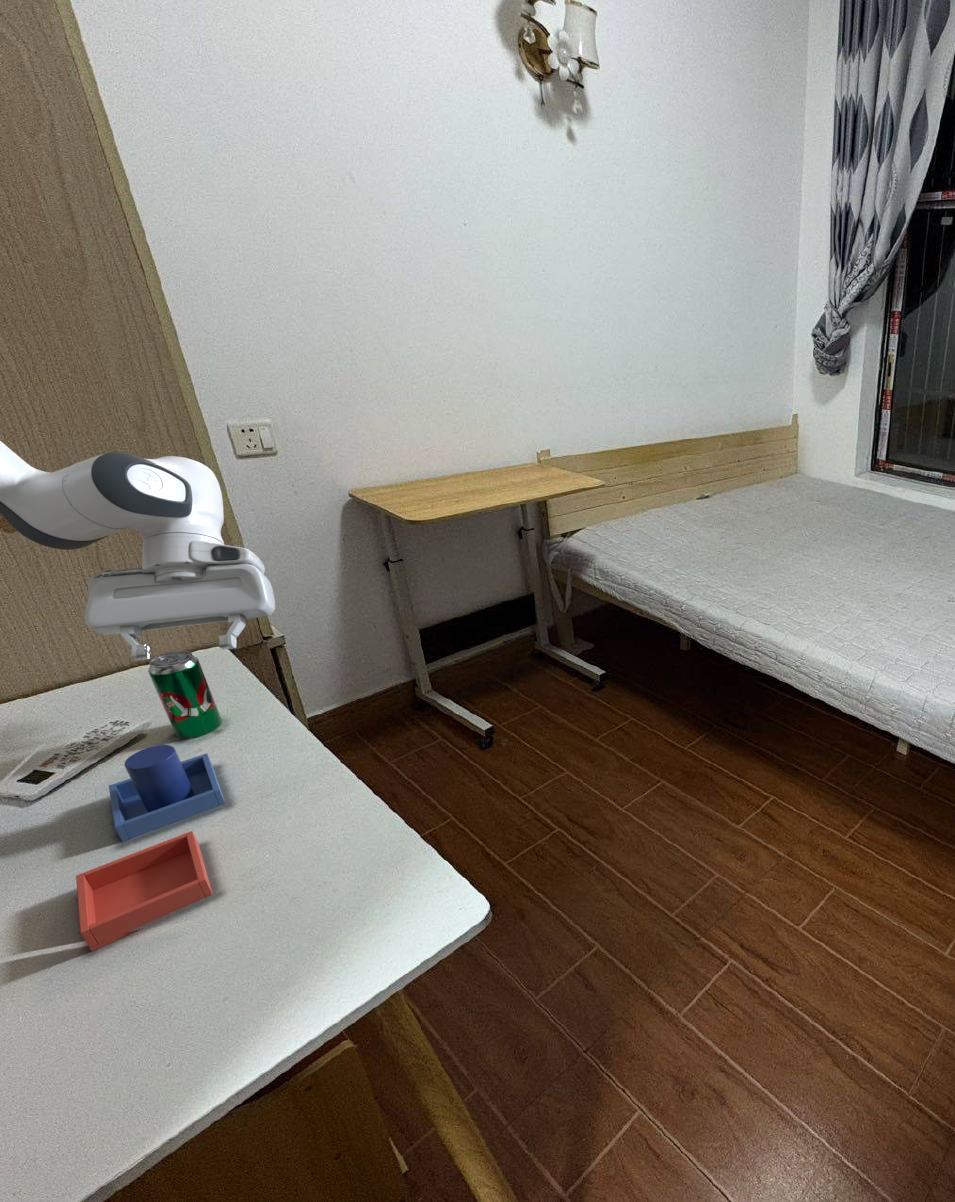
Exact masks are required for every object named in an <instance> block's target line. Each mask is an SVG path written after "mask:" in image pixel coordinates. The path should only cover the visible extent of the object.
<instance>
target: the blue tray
mask: <svg viewBox="0 0 955 1202" xmlns="http://www.w3.org/2000/svg"><path fill="white" fill-rule="evenodd" d="M180 762H181V764H182V766H183V769H184V771H185V773H186V775H187V778H188V780H189V782H190V784H191V787H192V789H193V791H194V796H193V797H191V798H188V799H185V800H182V801H179V802H177V803H174V804H171V805H168V806H166V807H163V808H160V809H157V810H154V811H152V812H148V811H147V810H146V808H145V806H144V804H143V802H142V800H141V798H140V796H139V794H138V792H137V790H136V788H135V786H134V784H133V782H132V780H131V778H127V779H124V780H121V781H119V782H116V783H112V784H110V785H108V792H109V798H110V805H111V811H112V818H113V824H114V829H115V831H116V833H117V835H118V836H119V838H120V840H121V842H122V843H124V842H127V841H129V840H132V839H135V838H138V837H140V836H143V835H147V834H148V833H151V832H154V831H156V830H159V829H162V828H164V827H168V826H169V825H172V824H174V823H177V822H180V821H183V820H186V819H189V818H190V817H193V816H196V815H198V814H202V813H204V812H207V811H210V810H212V809H215V808H218V807H221V806H223V805H225V804H226V800H225V798H224V795H223V792H222V789H221V786H220V784H219V780H218V776H217V773H216V772H215V769H214V765H213V764H212V761H211V759H210V756H209V754H208V752H207V753H204V754H200V755H197V756H195V757H191V758H189V759H188V758H187V759H185V760H182V761H180Z"/></svg>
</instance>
